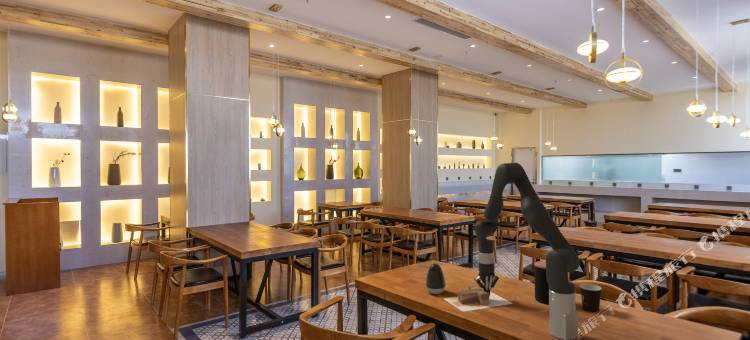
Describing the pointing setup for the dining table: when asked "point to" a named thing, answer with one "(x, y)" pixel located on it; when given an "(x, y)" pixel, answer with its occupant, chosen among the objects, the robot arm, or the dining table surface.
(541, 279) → the coffee jar
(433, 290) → the black egg-shaped piece
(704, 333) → the dining table surface
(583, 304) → the coffee mug
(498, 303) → the mat
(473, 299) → the t block
